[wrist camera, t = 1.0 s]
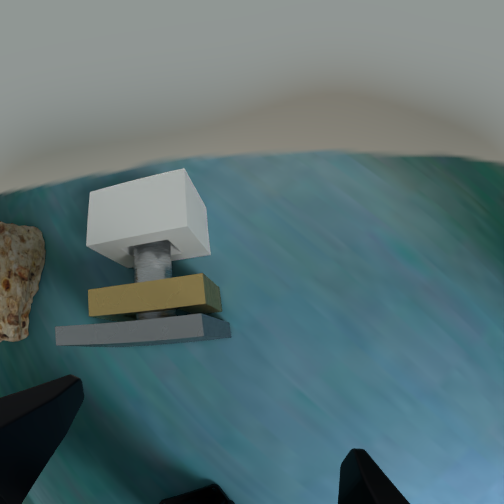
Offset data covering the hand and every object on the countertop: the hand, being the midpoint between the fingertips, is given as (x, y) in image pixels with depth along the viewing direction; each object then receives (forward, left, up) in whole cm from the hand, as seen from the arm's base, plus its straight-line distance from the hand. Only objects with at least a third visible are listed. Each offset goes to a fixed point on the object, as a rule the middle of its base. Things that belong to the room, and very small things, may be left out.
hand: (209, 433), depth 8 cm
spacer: (-3, +8, -16) cm, 19 cm away
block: (-1, +14, -16) cm, 21 cm away
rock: (-25, +21, -16) cm, 37 cm away
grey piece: (-3, +10, -16) cm, 19 cm away
